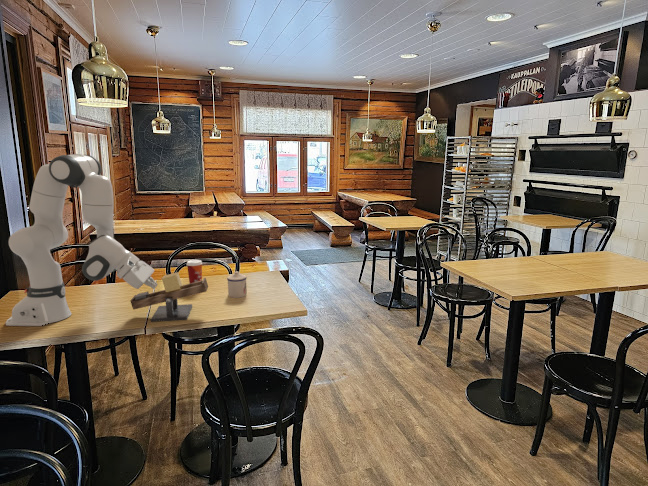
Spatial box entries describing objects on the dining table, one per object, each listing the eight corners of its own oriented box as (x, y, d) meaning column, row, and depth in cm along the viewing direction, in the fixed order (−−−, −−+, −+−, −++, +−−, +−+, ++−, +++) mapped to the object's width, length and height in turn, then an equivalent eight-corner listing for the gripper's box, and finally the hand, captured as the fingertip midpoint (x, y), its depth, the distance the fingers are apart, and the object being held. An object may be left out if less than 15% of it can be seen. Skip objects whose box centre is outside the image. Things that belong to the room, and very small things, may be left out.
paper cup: (199, 290, 208) (197, 263, 205) (185, 289, 209) (183, 262, 206) (206, 286, 215) (205, 259, 212) (193, 285, 217) (191, 259, 214)
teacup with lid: (248, 297, 199) (247, 273, 196) (228, 299, 196) (227, 275, 194) (245, 289, 210) (244, 267, 208) (226, 291, 207) (225, 268, 205)
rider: (167, 296, 174) (161, 278, 172) (169, 293, 178) (163, 275, 176) (181, 292, 174) (176, 275, 172) (183, 289, 179) (178, 272, 177)
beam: (134, 311, 172) (130, 300, 170) (138, 306, 178) (135, 295, 177) (207, 293, 175) (203, 282, 174) (208, 288, 182) (205, 277, 180)
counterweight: (136, 304, 172) (134, 297, 172) (139, 300, 177) (137, 293, 176) (147, 301, 173) (145, 294, 172) (150, 297, 177) (148, 291, 176)
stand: (151, 321, 169) (149, 300, 168) (159, 308, 184) (157, 289, 182) (187, 319, 172) (185, 298, 170) (192, 306, 186) (191, 287, 184)
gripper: (130, 264, 181) (156, 284, 184) (115, 277, 161) (144, 300, 165) (140, 253, 181) (166, 274, 184) (126, 265, 161) (155, 288, 164)
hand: (155, 286), depth 174 cm, fingers closed
